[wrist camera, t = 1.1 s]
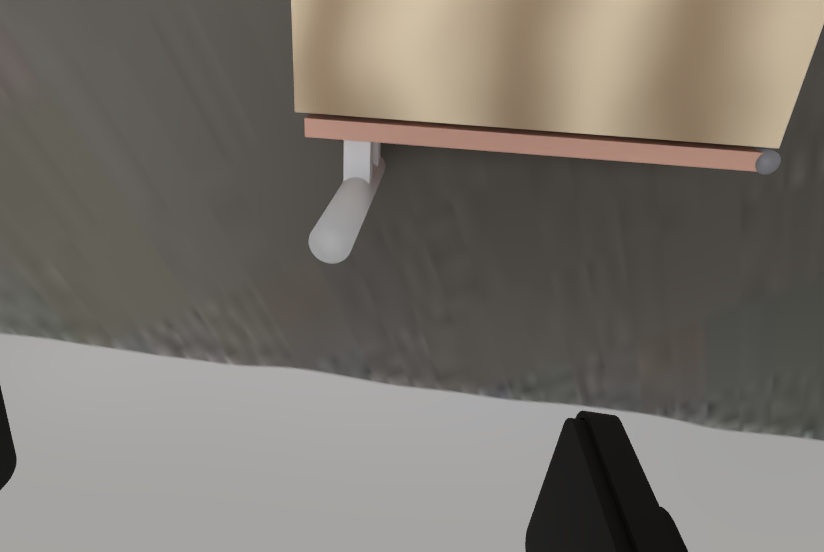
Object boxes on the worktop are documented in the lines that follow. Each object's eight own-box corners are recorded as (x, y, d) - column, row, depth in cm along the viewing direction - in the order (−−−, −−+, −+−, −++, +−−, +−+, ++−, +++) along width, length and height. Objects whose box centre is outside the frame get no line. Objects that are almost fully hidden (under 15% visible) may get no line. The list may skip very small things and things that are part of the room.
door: (696, 113, 31) (873, 190, 18) (675, 187, 33) (822, 304, 20) (343, 87, 32) (265, 143, 19) (342, 160, 34) (272, 258, 20)
